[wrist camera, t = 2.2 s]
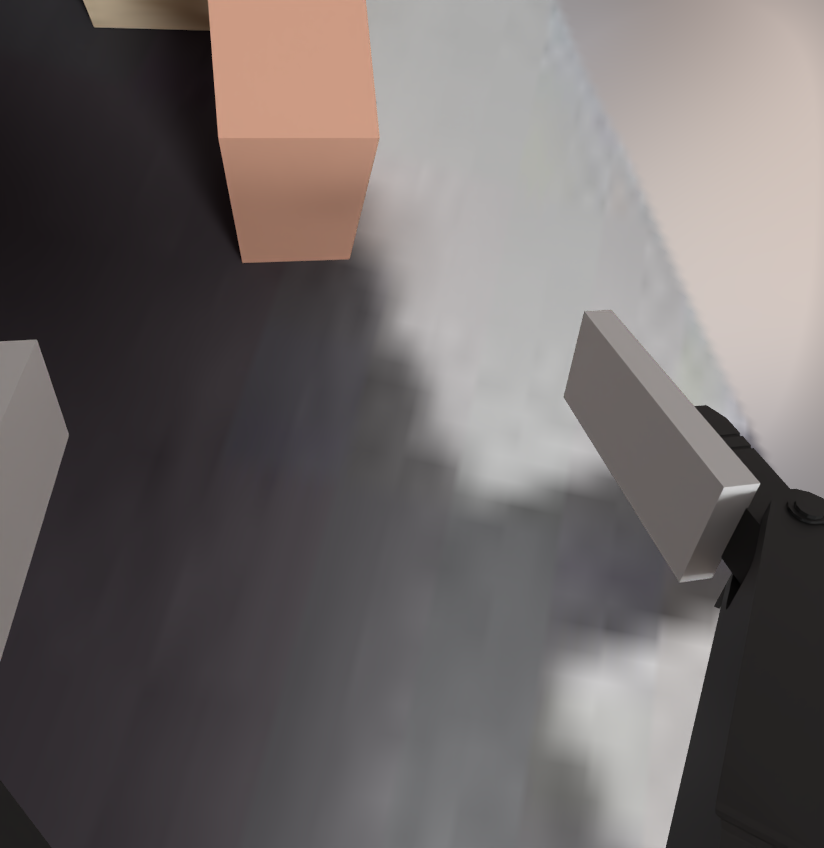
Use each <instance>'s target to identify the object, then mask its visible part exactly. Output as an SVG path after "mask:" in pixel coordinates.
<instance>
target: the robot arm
mask: <svg viewBox="0 0 824 848" xmlns="http://www.w3.org/2000/svg"><path fill="white" fill-rule="evenodd" d="M564 398H565V400H566V402H567V403H568V405H569V406H570V408H571V410H572V411H573V413H574V414H575V416H576V418H577V419H578V421H579V422H580V424H581V426H582V427H583V429H584V430H585V432H586V434H587V435H588V437H589V439H590V440H591V442H592V443H593V445H594V447H595V448H596V450H597V451H598V453H599V455H600V456H601V458H602V459H603V461H604V463H605V464H606V466H607V467H608V469H609V471H610V472H611V474H612V475H613V477H614V479H615V480H616V482H617V483H618V485H619V487H620V488H621V490H622V491H623V493H624V495H625V496H626V498H627V499H628V501H629V503H630V504H631V506H632V507H633V509H634V511H635V512H636V514H637V515H638V517H639V519H640V520H641V522H642V523H643V525H644V527H645V528H646V530H647V531H648V533H649V535H650V536H651V538H652V540H653V541H654V543H655V544H656V546H657V548H658V549H659V551H660V552H661V554H662V556H663V557H664V559H665V560H666V562H667V564H668V565H669V567H670V568H671V570H672V572H673V573H674V575H675V576H676V578H677V580H678V581H679V582H686V581H694V580H701V579H708V578H712V577H713V575H714V573H715V571H716V569H717V567H718V565H719V563H720V561H721V559H723V560H724V562H725V563H726V565H727V566H728V568H729V569H730V570H731V572H732V574H731V576H730V578H729V580H728V581H727V583H726V585H725V587H724V589H723V591H722V593H721V594H720V596H719V598H718V600H717V602H716V604H715V606H714V607H717V608H719V609H720V607H721V609H720V613H719V618H718V622H717V627H716V631H715V635H714V640H713V644H712V648H711V653H710V657H709V661H708V666H707V670H706V674H705V679H704V683H703V688H702V692H701V696H700V701H699V705H698V709H697V714H696V718H695V722H694V727H693V731H692V736H691V740H690V744H689V749H688V753H687V757H686V762H685V766H684V770H683V775H682V779H681V783H680V788H679V792H678V797H677V801H676V805H675V810H674V814H673V818H672V823H671V827H670V831H669V836H668V840H667V845H666V848H824V499H823V498H821V497H819V496H817V495H815V494H812V493H810V492H806V491H802V490H798V489H790V488H789V487H788V486H787V485H786V484H785V483H784V482H783V480H782V479H781V478H780V477H779V476H778V475H777V474H776V473H775V472H774V470H773V469H772V468H771V467H770V466H769V465H768V464H767V463H766V462H765V460H764V459H763V458H762V457H761V456H760V455H759V454H758V453H757V452H756V450H755V449H754V448H751V445H750V444H749V443H748V442H747V440H746V439H745V438H744V437H743V436H740V433H739V432H738V430H737V429H736V428H735V427H734V426H733V425H732V424H731V423H730V422H729V420H728V419H727V418H725V417H724V416H722V415H721V414H719V413H718V412H716V411H715V410H713V409H711V408H710V407H708V406H707V405H704V406H694V405H693V404H692V403H691V402H690V401H689V400H688V398H687V397H686V396H685V395H684V394H683V393H682V391H681V390H680V389H679V388H678V387H677V386H676V384H675V383H674V382H673V381H672V380H671V379H670V377H669V376H668V375H667V374H666V373H665V372H664V370H663V369H662V368H661V367H660V366H659V365H658V363H657V362H656V361H655V360H654V359H653V358H652V356H651V355H650V354H649V353H648V352H647V351H646V350H645V348H644V347H643V346H642V345H641V344H640V343H639V341H638V340H637V339H636V338H635V337H634V336H633V334H632V333H631V332H630V331H629V330H628V329H627V327H626V326H625V325H624V324H623V323H622V322H621V320H620V319H619V318H618V317H617V316H616V315H615V313H614V312H613V311H612V310H601V311H584V314H583V319H582V323H581V327H580V331H579V335H578V339H577V344H576V348H575V352H574V356H573V360H572V364H571V369H570V373H569V377H568V381H567V385H566V389H565V394H564ZM68 436H69V434H68V431H67V428H66V425H65V422H64V419H63V416H62V413H61V410H60V407H59V404H58V401H57V398H56V395H55V392H54V389H53V386H52V383H51V380H50V377H49V374H48V371H47V368H46V365H45V362H44V359H43V356H42V353H41V350H40V347H39V344H38V341H37V340H19V341H0V660H1V657H2V654H3V650H4V647H5V644H6V640H7V637H8V634H9V631H10V627H11V624H12V621H13V617H14V614H15V611H16V608H17V604H18V601H19V598H20V594H21V591H22V588H23V585H24V581H25V578H26V575H27V571H28V568H29V565H30V561H31V558H32V555H33V552H34V548H35V545H36V542H37V538H38V535H39V532H40V529H41V525H42V522H43V519H44V515H45V512H46V509H47V506H48V502H49V499H50V496H51V492H52V489H53V486H54V483H55V479H56V476H57V473H58V469H59V466H60V463H61V459H62V456H63V453H64V450H65V446H66V443H67V440H68ZM0 848H51V847H50V845H49V844H48V843H47V841H46V840H45V839H44V837H43V836H42V835H41V833H40V832H39V831H38V829H37V828H36V827H35V825H34V824H33V823H32V821H31V820H30V819H29V818H28V816H27V815H26V814H25V812H24V811H23V810H22V808H21V807H20V806H19V804H18V803H17V802H16V800H15V799H14V798H13V796H12V795H11V794H10V792H9V791H8V790H7V788H6V787H5V786H4V784H3V783H2V782H1V781H0Z"/></svg>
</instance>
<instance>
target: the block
mask: <svg viewBox="0 0 824 848" xmlns="http://www.w3.org/2000/svg"><path fill="white" fill-rule="evenodd" d="M208 7H209V21H210V34H211V47H212V60H213V74H214V87H215V100H216V114H217V127H218V139H219V144H220V149H221V154H222V160H223V165H224V170H225V175H226V180H227V186H228V191H229V196H230V201H231V206H232V211H233V217H234V222H235V227H236V232H237V237H238V243H239V248H240V253H241V258H242V263H255V262H284V261H313V260H342V259H350V255H351V251H352V247H353V243H354V239H355V235H356V231H357V227H358V223H359V219H360V215H361V211H362V207H363V203H364V199H365V195H366V191H367V186H368V182H369V178H370V174H371V170H372V166H373V162H374V158H375V154H376V150H377V146H378V142H379V128H378V118H377V108H376V98H375V88H374V78H373V68H372V58H371V48H370V38H369V28H368V18H367V8H366V0H208Z"/></svg>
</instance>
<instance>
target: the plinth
mask: <svg viewBox="0 0 824 848" xmlns="http://www.w3.org/2000/svg"><path fill="white" fill-rule="evenodd" d="M83 1H84V4H85V6H86V9H87V11H88V13H89V16H90V18H91V21H92V23H93V26H94V27H100V28H136V29H171V30H207V31H210V21H209V7H208V0H83Z"/></svg>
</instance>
